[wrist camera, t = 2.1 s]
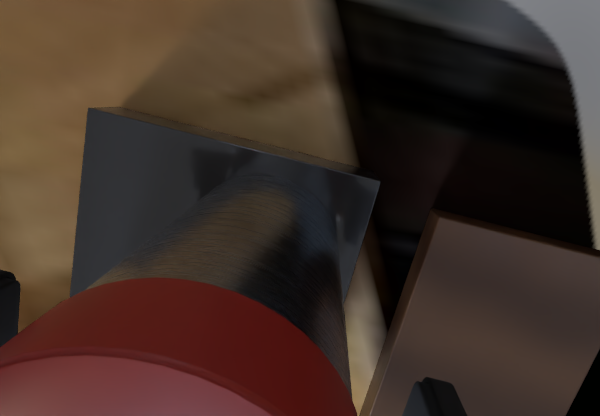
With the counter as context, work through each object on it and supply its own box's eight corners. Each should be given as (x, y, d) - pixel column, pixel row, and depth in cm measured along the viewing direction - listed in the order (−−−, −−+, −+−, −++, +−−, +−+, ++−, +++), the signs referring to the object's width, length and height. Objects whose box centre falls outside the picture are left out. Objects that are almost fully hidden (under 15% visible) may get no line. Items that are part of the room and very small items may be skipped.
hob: (89, 99, 18) (50, 98, 16) (374, 170, 18) (381, 182, 16) (61, 377, 22) (27, 413, 20) (295, 435, 22) (291, 479, 20)
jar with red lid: (199, 153, 16) (-126, 287, 4) (359, 193, 16) (447, 430, 4) (174, 297, 18) (-107, 664, 6) (318, 333, 18) (305, 764, 6)
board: (430, 207, 19) (439, 216, 17) (618, 254, 19) (642, 267, 17) (339, 470, 23) (340, 495, 21) (492, 508, 23) (504, 536, 21)
